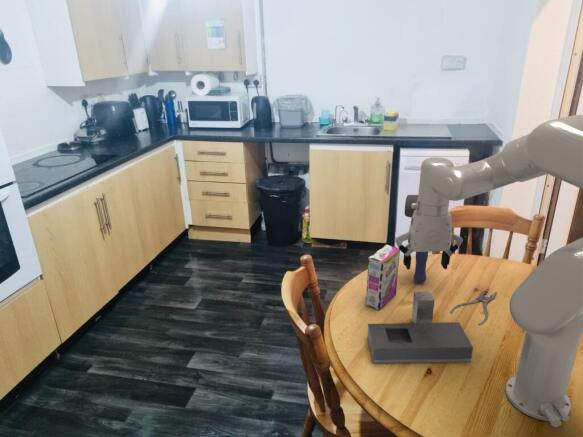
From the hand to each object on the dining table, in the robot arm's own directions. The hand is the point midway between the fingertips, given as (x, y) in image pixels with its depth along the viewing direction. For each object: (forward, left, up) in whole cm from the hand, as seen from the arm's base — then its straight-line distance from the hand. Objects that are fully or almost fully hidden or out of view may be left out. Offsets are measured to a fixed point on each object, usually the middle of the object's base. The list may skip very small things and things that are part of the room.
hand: (425, 266), depth 115 cm
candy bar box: (+12, +9, -18) cm, 23 cm away
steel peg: (0, 0, -18) cm, 18 cm away
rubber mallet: (+22, -5, -18) cm, 29 cm away
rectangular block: (-11, +4, -18) cm, 21 cm away
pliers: (+9, -18, -18) cm, 27 cm away
